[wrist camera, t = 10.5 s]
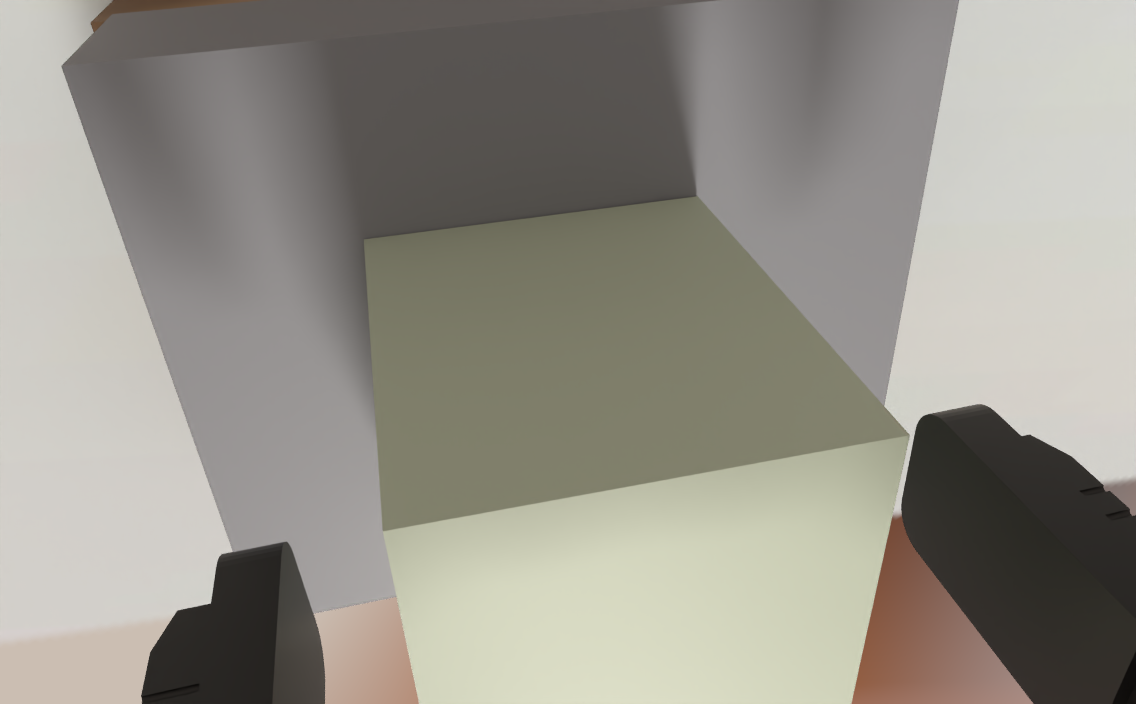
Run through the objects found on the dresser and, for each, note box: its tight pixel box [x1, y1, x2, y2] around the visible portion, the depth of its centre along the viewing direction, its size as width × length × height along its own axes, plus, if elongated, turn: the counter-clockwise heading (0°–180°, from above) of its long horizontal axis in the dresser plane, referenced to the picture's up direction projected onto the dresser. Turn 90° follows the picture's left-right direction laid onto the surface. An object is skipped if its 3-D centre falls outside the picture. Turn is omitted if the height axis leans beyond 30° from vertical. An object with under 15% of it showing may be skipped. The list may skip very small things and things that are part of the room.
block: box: [364, 196, 910, 704], centre depth 12 cm, size 5×5×6 cm
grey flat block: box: [62, 0, 959, 614], centre depth 16 cm, size 12×10×3 cm
